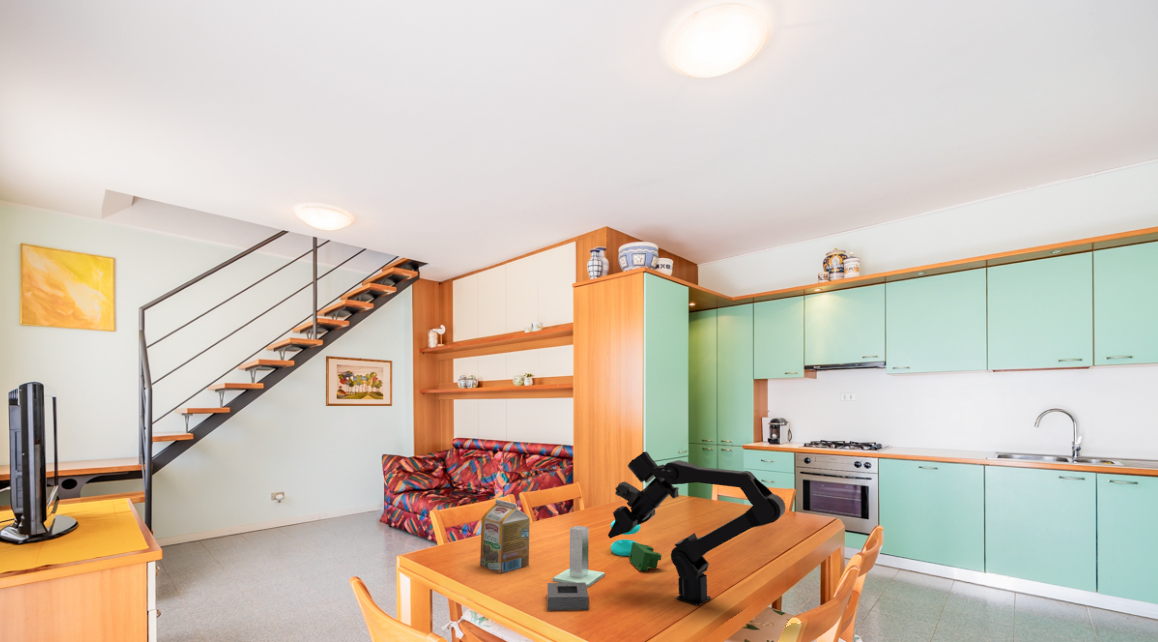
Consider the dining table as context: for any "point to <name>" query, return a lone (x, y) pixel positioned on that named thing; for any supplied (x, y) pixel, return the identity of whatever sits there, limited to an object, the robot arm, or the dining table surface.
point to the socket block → (567, 596)
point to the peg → (579, 551)
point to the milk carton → (504, 538)
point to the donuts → (624, 543)
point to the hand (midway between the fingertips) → (615, 532)
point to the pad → (589, 579)
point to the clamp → (643, 557)
